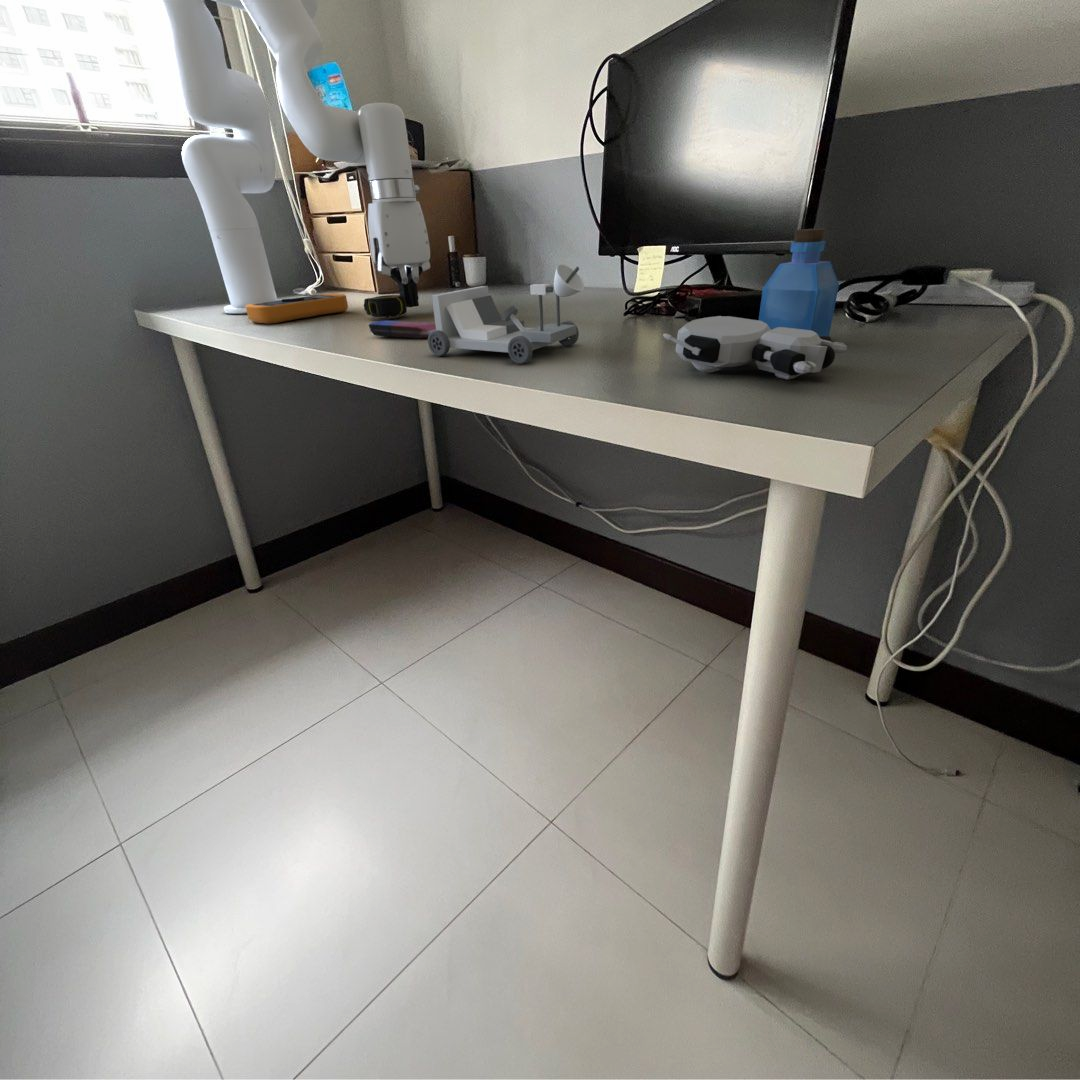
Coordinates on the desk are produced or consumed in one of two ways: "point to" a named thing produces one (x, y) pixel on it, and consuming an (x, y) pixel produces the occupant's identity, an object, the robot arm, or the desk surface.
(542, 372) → the desk surface
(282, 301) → the multimeter
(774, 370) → the robot toy
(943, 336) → the desk surface
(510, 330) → the toy car
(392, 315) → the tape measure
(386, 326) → the eraser
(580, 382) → the desk surface
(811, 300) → the perfume bottle
